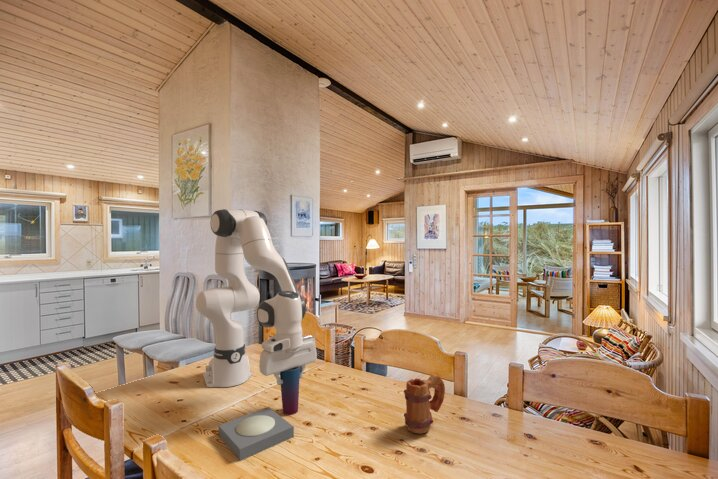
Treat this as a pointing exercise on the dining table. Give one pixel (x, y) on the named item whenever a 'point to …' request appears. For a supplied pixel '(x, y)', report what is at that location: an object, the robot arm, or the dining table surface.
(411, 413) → the mug
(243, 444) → the plinth
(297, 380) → the cup
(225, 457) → the dining table surface
